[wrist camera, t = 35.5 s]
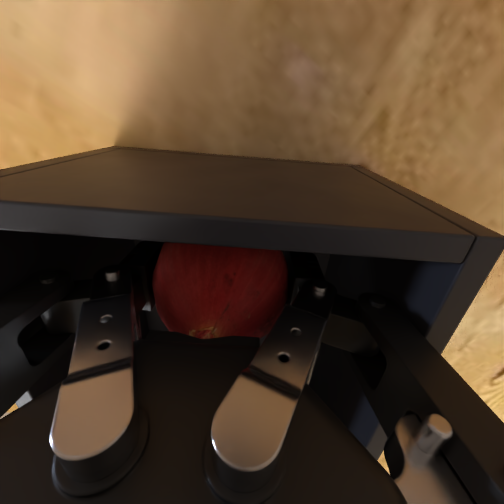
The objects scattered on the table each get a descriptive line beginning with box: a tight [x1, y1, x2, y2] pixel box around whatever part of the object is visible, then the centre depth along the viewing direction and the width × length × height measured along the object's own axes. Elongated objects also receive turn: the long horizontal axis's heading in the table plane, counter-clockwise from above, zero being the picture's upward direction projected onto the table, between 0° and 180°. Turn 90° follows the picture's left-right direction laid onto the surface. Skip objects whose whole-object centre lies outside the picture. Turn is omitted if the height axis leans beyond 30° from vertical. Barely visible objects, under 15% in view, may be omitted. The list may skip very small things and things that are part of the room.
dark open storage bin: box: [0, 146, 504, 460], centre depth 15 cm, size 18×15×10 cm
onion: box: [152, 242, 289, 339], centre depth 11 cm, size 6×6×8 cm
